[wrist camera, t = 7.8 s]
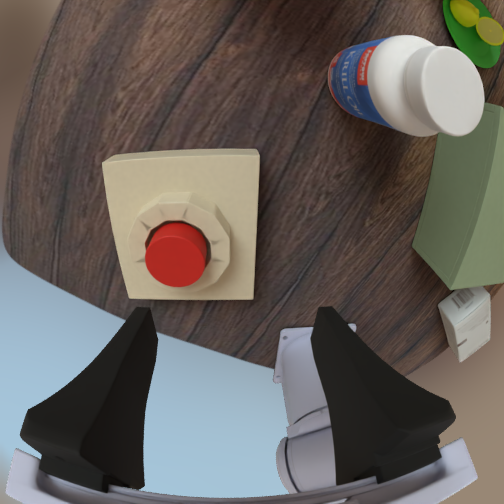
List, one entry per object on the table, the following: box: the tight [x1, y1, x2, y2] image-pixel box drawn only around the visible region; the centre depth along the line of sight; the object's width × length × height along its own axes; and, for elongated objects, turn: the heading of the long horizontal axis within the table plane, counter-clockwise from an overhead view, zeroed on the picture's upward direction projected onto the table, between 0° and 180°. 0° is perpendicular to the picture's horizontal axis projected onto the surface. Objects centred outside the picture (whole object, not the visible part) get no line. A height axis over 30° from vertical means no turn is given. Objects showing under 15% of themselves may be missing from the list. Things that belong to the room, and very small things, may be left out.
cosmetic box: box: [438, 286, 491, 363], centre depth 28 cm, size 6×4×12 cm
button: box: [145, 223, 207, 287], centre depth 17 cm, size 4×4×2 cm
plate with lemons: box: [443, 0, 504, 68], centre depth 11 cm, size 8×8×3 cm
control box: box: [102, 149, 260, 300], centre depth 19 cm, size 11×10×4 cm
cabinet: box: [412, 102, 504, 290], centre depth 17 cm, size 10×14×7 cm
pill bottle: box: [328, 35, 484, 137], centre depth 12 cm, size 6×5×10 cm
